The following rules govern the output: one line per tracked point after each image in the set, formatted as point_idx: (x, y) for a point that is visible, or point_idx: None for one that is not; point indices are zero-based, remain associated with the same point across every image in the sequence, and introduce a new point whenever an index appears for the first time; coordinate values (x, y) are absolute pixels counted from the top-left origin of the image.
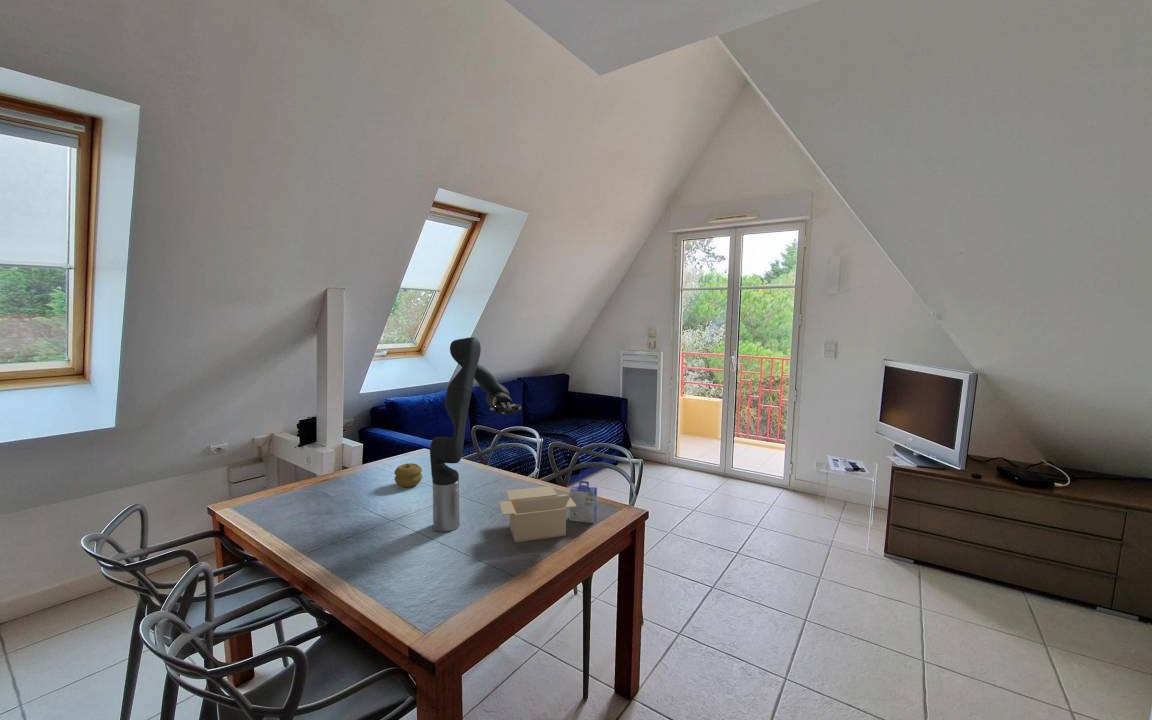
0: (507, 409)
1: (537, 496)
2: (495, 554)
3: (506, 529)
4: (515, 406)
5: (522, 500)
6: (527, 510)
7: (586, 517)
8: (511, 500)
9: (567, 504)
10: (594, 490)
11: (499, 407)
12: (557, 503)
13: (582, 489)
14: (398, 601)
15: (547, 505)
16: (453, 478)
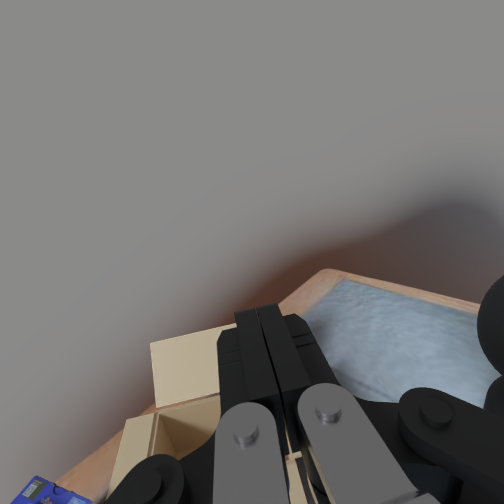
0: (275, 309)
1: None
2: None
3: (309, 495)
4: (114, 498)
5: None
6: None
7: None
8: (289, 465)
9: (143, 426)
10: (25, 489)
11: (445, 395)
12: (177, 370)
13: (53, 497)
14: (397, 301)
15: (199, 370)
16: (488, 390)
